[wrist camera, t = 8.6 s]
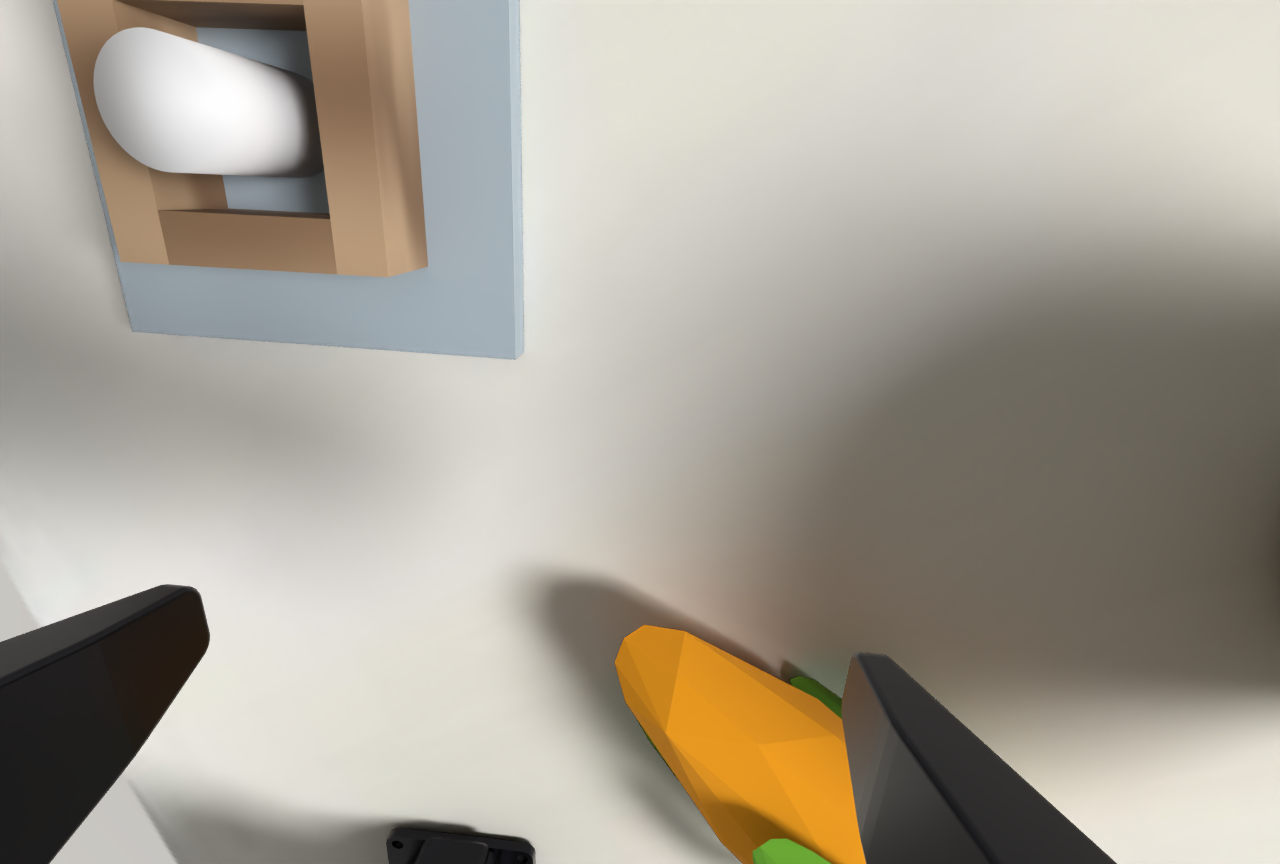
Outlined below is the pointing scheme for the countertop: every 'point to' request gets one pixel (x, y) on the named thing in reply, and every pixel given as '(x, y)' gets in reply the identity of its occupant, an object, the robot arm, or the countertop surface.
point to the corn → (746, 748)
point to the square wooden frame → (349, 132)
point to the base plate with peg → (295, 181)
